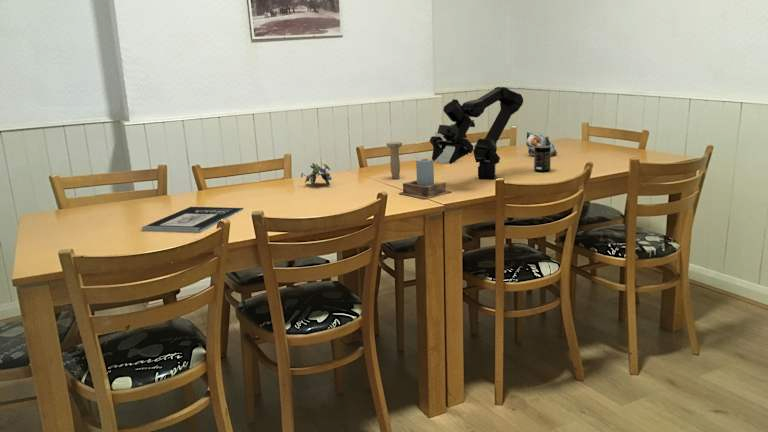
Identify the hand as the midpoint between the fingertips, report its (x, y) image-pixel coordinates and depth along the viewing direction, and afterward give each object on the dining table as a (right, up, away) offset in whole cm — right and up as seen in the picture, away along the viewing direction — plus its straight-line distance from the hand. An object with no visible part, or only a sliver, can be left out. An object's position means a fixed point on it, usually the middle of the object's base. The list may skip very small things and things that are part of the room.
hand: (440, 162), depth 242 cm
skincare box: (+8, +5, +58) cm, 58 cm away
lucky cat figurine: (+54, +8, +63) cm, 83 cm away
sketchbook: (-86, -22, -25) cm, 92 cm away
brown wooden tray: (-6, -12, -3) cm, 14 cm away
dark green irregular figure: (-49, -8, +20) cm, 53 cm away
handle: (-17, -5, +27) cm, 32 cm away
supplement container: (+45, -2, +27) cm, 53 cm away
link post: (-6, -11, -3) cm, 13 cm away
